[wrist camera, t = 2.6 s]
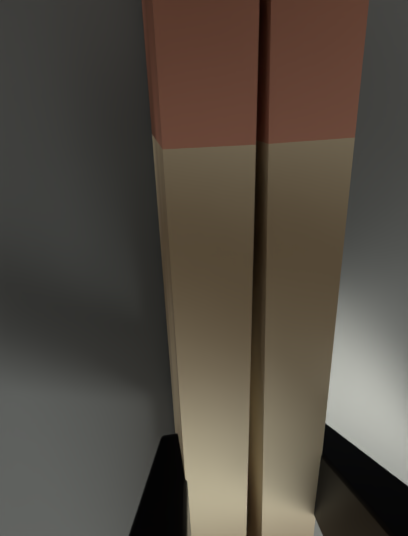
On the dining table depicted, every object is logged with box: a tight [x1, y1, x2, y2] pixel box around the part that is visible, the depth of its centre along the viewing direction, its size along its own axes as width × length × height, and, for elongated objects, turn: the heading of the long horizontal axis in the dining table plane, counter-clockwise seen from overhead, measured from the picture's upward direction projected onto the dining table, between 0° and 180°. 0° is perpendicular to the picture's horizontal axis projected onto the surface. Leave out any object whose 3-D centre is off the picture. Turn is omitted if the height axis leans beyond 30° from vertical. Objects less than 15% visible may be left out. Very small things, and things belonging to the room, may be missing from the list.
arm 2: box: [141, 0, 260, 536], centre depth 9 cm, size 22×1×2 cm, turn 2°
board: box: [0, 0, 408, 536], centre depth 12 cm, size 14×28×1 cm, turn 2°
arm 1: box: [246, 0, 369, 536], centre depth 9 cm, size 22×1×2 cm, turn 3°
